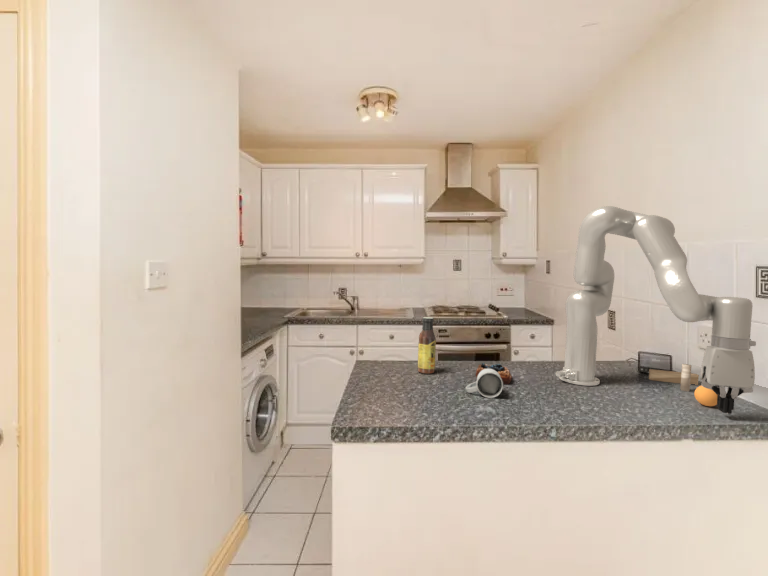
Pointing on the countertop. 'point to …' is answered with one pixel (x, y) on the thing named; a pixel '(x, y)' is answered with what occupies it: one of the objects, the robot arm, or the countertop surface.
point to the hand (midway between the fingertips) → (724, 411)
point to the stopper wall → (670, 376)
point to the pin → (685, 377)
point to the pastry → (499, 368)
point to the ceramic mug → (487, 384)
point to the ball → (705, 396)
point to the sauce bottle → (427, 347)
